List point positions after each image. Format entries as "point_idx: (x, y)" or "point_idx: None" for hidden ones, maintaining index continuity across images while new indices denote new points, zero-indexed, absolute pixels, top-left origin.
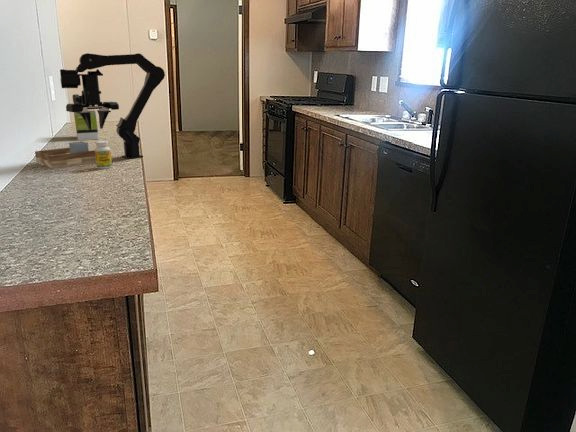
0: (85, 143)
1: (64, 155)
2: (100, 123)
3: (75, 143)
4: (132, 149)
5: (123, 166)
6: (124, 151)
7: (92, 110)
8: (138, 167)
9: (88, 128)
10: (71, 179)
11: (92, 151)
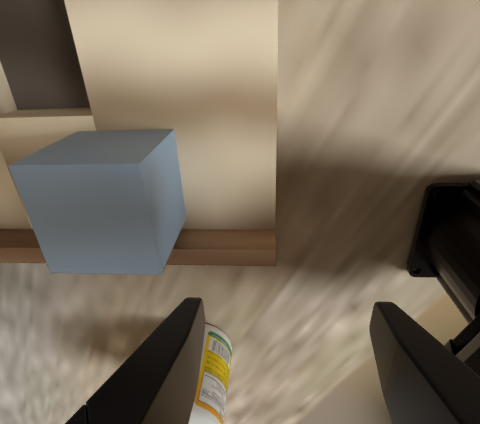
0: (141, 272)
1: (9, 259)
2: (405, 391)
3: (61, 240)
4: (462, 310)
5: (271, 369)
6: (474, 203)
7: None
8: (303, 410)
9: (177, 312)
10: (44, 406)
11: (194, 263)
